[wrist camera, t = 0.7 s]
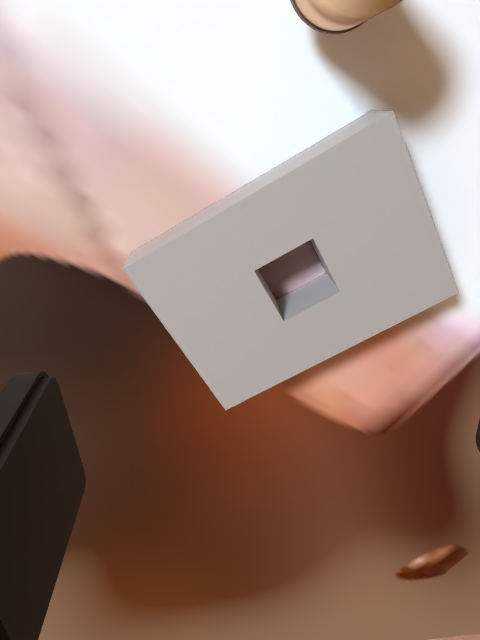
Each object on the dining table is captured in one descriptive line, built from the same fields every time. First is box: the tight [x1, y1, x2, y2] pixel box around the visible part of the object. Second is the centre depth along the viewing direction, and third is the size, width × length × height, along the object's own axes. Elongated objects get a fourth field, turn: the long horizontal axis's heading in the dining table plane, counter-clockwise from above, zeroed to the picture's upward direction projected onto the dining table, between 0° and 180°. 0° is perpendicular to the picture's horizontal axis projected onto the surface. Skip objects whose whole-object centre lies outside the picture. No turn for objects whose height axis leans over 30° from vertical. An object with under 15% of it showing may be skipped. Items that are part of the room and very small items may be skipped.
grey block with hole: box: [123, 110, 459, 410], centre depth 34 cm, size 20×14×4 cm
